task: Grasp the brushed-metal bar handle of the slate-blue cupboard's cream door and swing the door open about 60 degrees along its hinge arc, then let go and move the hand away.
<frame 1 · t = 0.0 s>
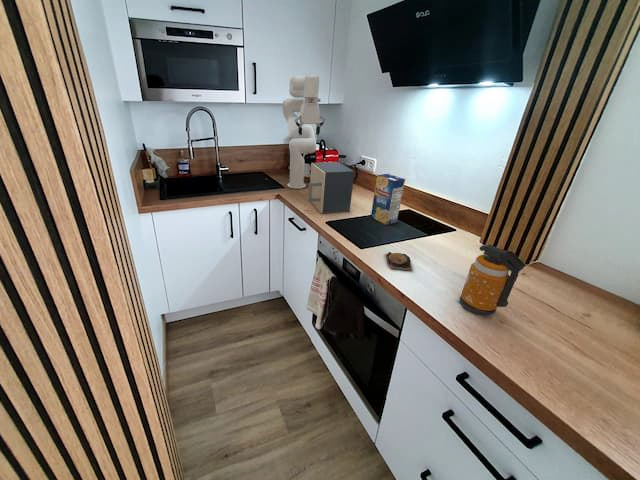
hand: (308, 134, 157), 37 cm above the worktop, tool pointing down, fingers open, 9 cm apart
cupboard: (329, 205, 161), on the worktop
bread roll: (398, 263, 106), on the worktop
canister: (479, 308, 84), on the worktop
cupboard door: (311, 187, 155), point 11 cm above the worktop, hinge at 0.0°
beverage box: (383, 220, 143), on the worktop
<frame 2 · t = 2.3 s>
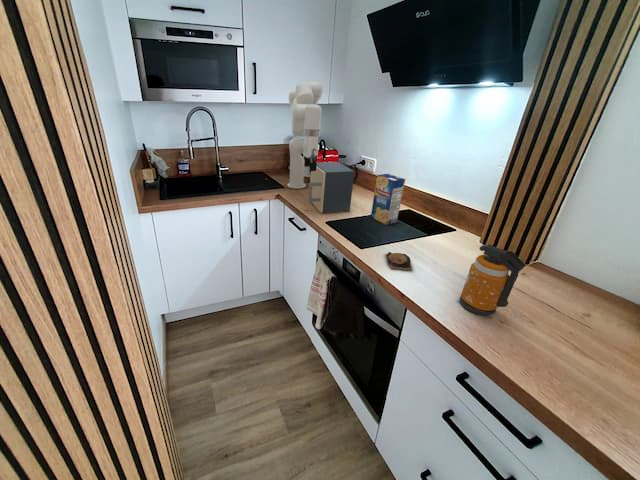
hand: (310, 168, 142), 23 cm above the worktop, tool pointing down, fingers open, 9 cm apart
nothing on the worktop moved.
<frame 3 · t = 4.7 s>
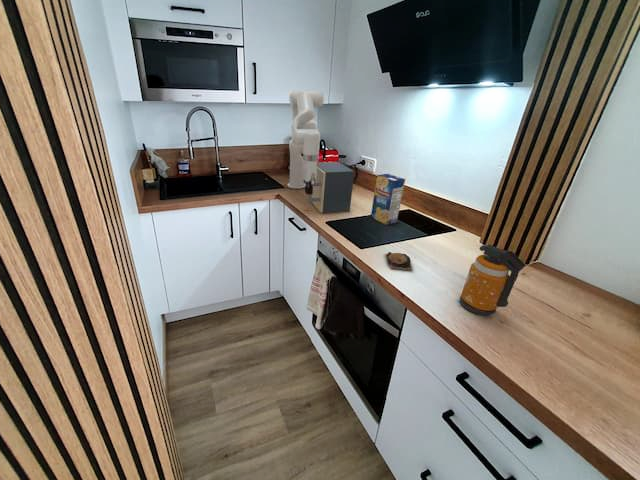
hand: (308, 193, 147), 11 cm above the worktop, tool pointing down, fingers closed on cupboard door
cupboard door: (311, 187, 155), point 11 cm above the worktop, hinge at 0.0°, touching gripper
everything else where it was.
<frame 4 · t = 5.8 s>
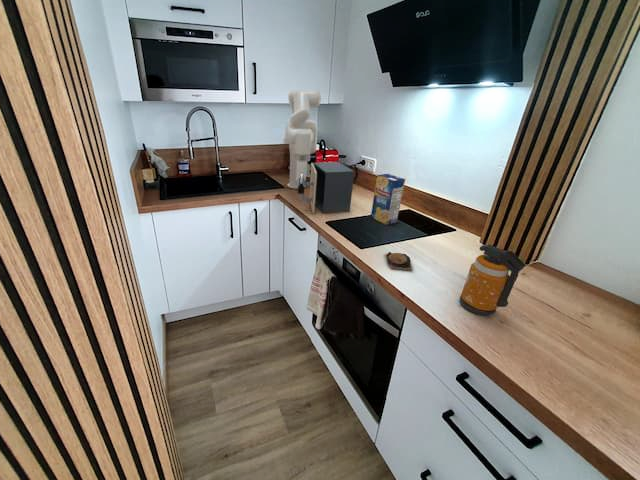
hand: (300, 192, 148), 11 cm above the worktop, tool pointing down, fingers closed on cupboard door
cupboard door: (306, 187, 155), point 11 cm above the worktop, hinge at 11.6°, touching gripper
everything else where it was.
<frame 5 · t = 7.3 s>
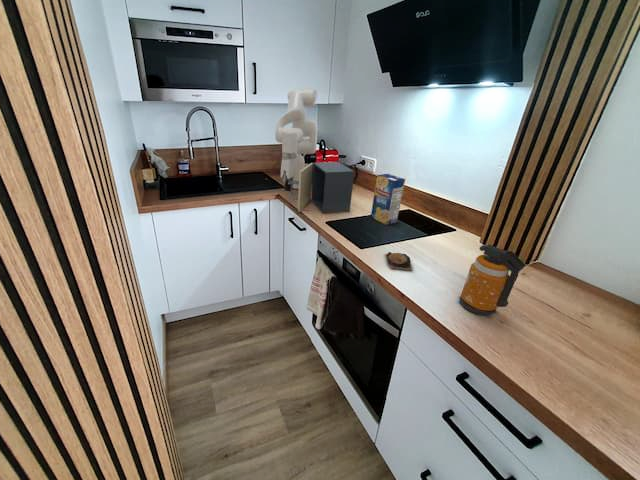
hand: (288, 190, 151), 11 cm above the worktop, tool pointing down, fingers closed on cupboard door
cupboard door: (300, 186, 157), point 11 cm above the worktop, hinge at 32.2°, touching gripper
everything else where it was.
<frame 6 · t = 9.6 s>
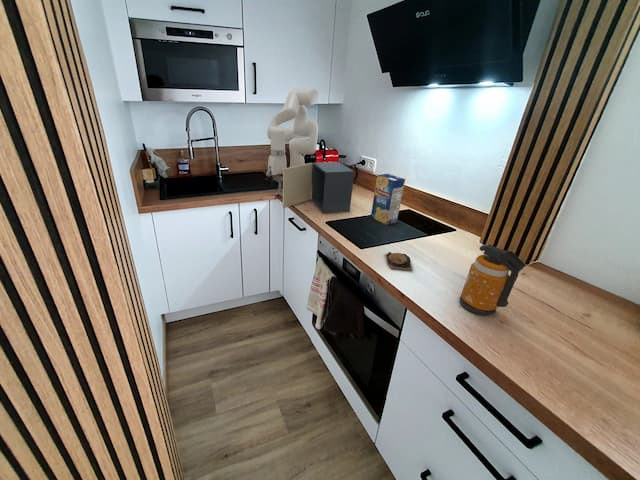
hand: (277, 185, 158), 11 cm above the worktop, tool pointing down, fingers open, 5 cm apart
cupboard door: (293, 183, 160), point 11 cm above the worktop, hinge at 58.1°
everything else where it was.
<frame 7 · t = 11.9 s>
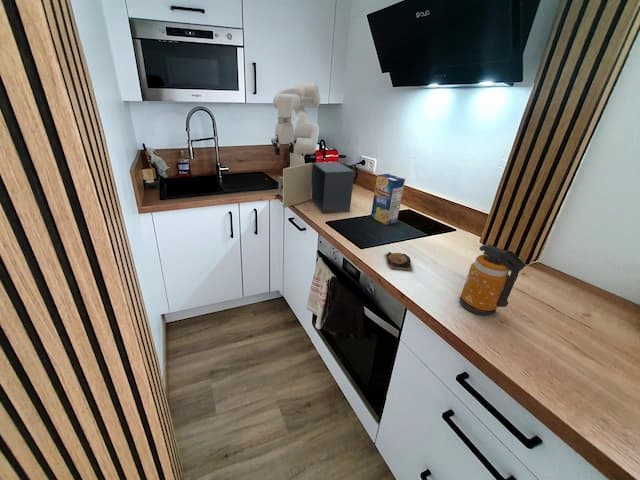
hand: (284, 153, 154), 27 cm above the worktop, tool pointing down, fingers open, 9 cm apart
nothing on the worktop moved.
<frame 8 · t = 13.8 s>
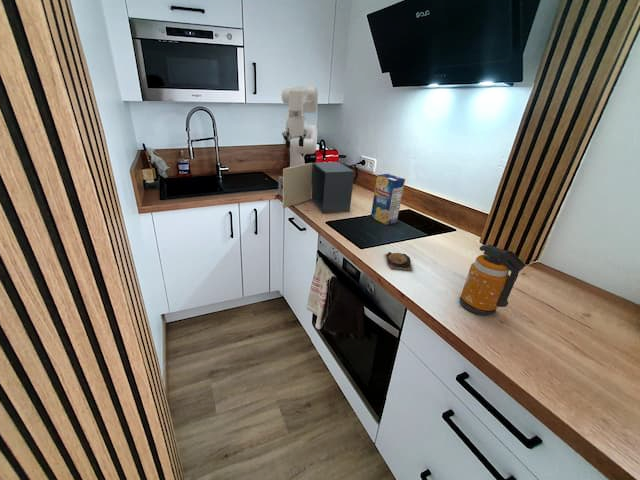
hand: (294, 147, 158), 30 cm above the worktop, tool pointing down, fingers open, 9 cm apart
nothing on the worktop moved.
at the end: cupboard door at +58° (first picture: +0°); the gripper is holding nothing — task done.
